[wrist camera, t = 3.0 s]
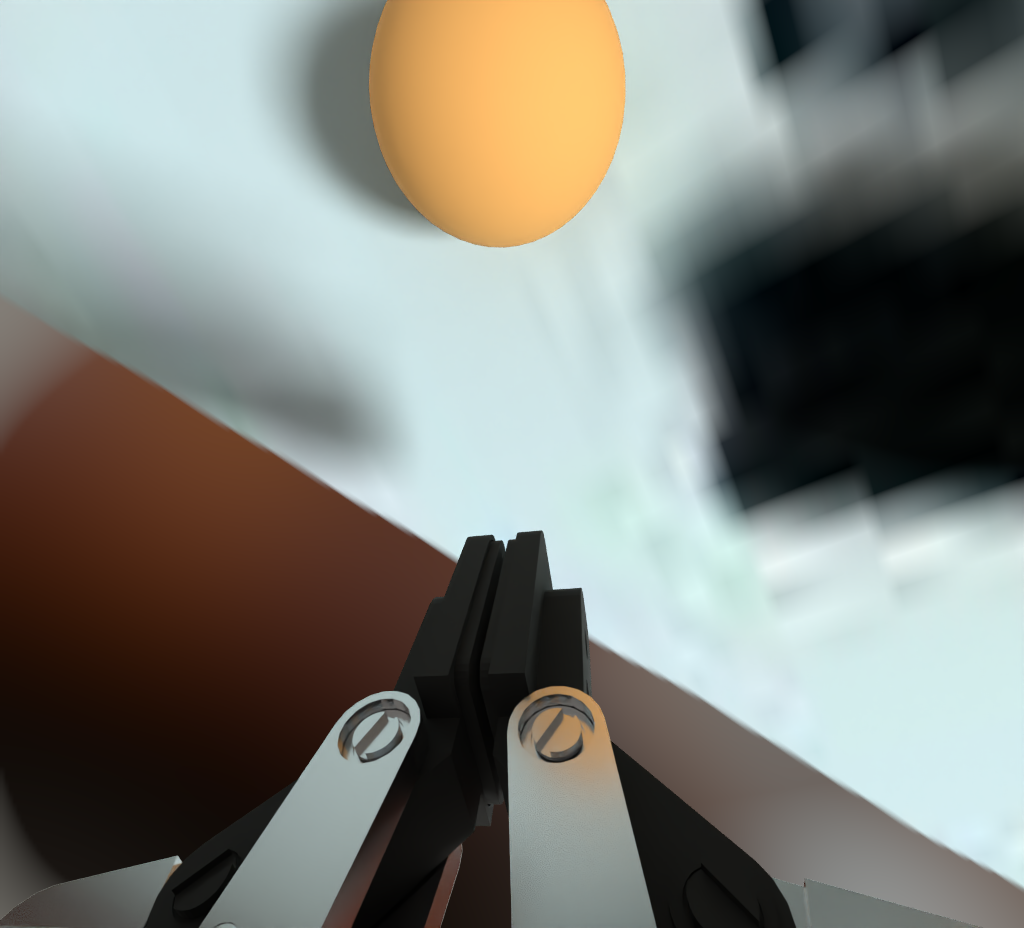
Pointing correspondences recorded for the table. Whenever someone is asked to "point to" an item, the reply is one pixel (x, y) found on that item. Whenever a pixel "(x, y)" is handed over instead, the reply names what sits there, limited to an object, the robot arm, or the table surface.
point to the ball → (497, 111)
